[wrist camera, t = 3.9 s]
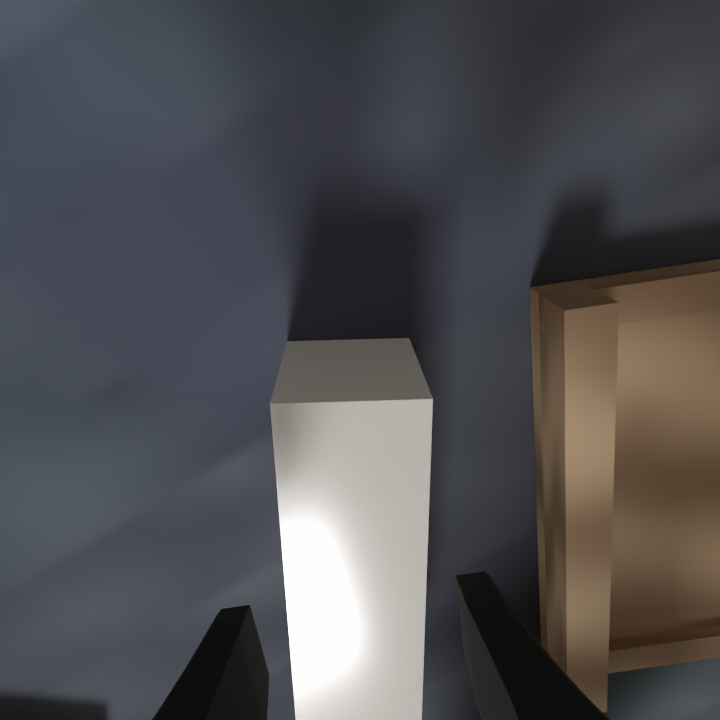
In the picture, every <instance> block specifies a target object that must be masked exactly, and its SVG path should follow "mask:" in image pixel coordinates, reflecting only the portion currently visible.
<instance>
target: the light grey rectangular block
mask: <svg viewBox="0 0 720 720" xmlns="http://www.w3.org/2000/svg"><path fill="white" fill-rule="evenodd" d="M270 408H271V420H272V433H273V445H274V457H275V470H276V482H277V494H278V507H279V519H280V531H281V544H282V556H283V568H284V581H285V593H286V605H287V618H288V630H289V642H290V655H291V667H292V679H293V692H294V704H295V716H296V720H422V696H423V667H424V639H425V611H426V582H427V554H428V525H429V497H430V469H431V440H432V412H433V398H432V395H431V393H430V390H429V388H428V385H427V382H426V380H425V377H424V375H423V372H422V370H421V367H420V365H419V362H418V359H417V357H416V354H415V352H414V349H413V347H412V344H411V341H410V339H409V338H389V339H353V340H317V341H287V344H286V347H285V351H284V355H283V358H282V362H281V366H280V369H279V373H278V377H277V380H276V384H275V388H274V392H273V395H272V399H271V403H270Z"/></svg>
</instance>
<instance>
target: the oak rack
mask: <svg viewBox="0 0 720 720" xmlns="http://www.w3.org/2000/svg"><path fill="white" fill-rule="evenodd" d="M530 309H531V341H532V374H533V407H534V440H535V472H536V505H537V538H538V570H539V603H540V636H541V646H542V647H543V648H544V649H545V650H546V652H547V653H548V654H549V655H550V656H551V658H552V659H553V660H554V661H555V662H556V663H557V665H558V666H559V667H560V668H561V669H562V670H563V671H564V672H565V674H566V675H567V676H568V677H569V678H570V679H571V680H572V681H573V682H574V683H575V684H576V685H577V687H578V688H579V689H580V690H581V691H582V692H583V693H584V694H585V695H586V696H587V697H588V698H589V699H590V700H591V701H592V702H593V703H594V704H595V705H596V706H597V707H598V708H599V709H600V710H601V711H602V712H607V692H608V673H615V672H622V671H629V670H636V669H643V668H651V667H658V666H665V665H672V664H679V663H686V662H693V661H700V660H707V659H714V658H720V259H716V260H709V261H703V262H696V263H689V264H682V265H676V266H669V267H662V268H656V269H649V270H642V271H635V272H629V273H622V274H615V275H609V276H602V277H595V278H588V279H582V280H575V281H568V282H561V283H555V284H548V285H541V286H535V287H530Z"/></svg>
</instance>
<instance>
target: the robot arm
mask: <svg viewBox="0 0 720 720" xmlns="http://www.w3.org/2000/svg"><path fill="white" fill-rule="evenodd" d="M456 582H457V592H458V602H459V612H460V622H461V632H462V642H463V650H464V654H465V659H466V663H467V668H468V672H469V676H470V681H471V685H472V689H473V694H474V698H475V702H476V705H477V708H478V711H479V714H480V717H481V720H610V719H609V718H608V717H607V716H605V714H604V713H603V712H602V711H601V710H600V709H599V708H598V707H597V706H596V705H595V704H594V703H593V702H592V701H591V700H590V699H589V698H588V697H587V696H586V695H585V694H584V693H583V692H582V691H581V690H580V689H579V688H578V687H577V685H576V684H575V683H574V682H573V681H572V680H571V679H570V678H569V677H568V676H567V675H566V674H565V672H564V671H563V670H562V669H561V668H560V667H559V666H558V665H557V663H556V662H555V661H554V660H553V659H552V658H551V656H550V655H549V654H548V653H547V652H546V650H545V649H544V648H543V647H542V646H541V644H540V643H539V642H538V641H537V640H536V638H535V637H534V636H533V635H532V634H531V632H530V631H529V630H528V629H527V627H526V626H525V625H524V624H523V622H522V621H521V620H520V618H519V617H518V616H517V614H516V613H515V612H514V610H513V609H512V608H511V606H510V605H509V603H508V602H507V601H506V599H505V598H504V596H503V595H502V593H501V592H500V590H499V589H498V587H497V586H496V584H495V583H494V581H493V580H492V578H491V576H490V575H489V574H487V573H486V572H478V573H471V574H464V575H457V576H456ZM268 688H269V673H268V669H267V665H266V662H265V658H264V655H263V651H262V647H261V644H260V640H259V637H258V633H257V629H256V626H255V622H254V618H253V615H252V611H251V608H250V605H247V606H240V607H233V608H226V609H221V610H220V612H219V613H218V614H217V616H216V618H215V619H214V621H213V623H212V624H211V626H210V628H209V630H208V631H207V633H206V635H205V636H204V638H203V640H202V642H201V643H200V645H199V647H198V648H197V650H196V652H195V653H194V655H193V657H192V658H191V660H190V662H189V663H188V665H187V667H186V668H185V670H184V671H183V673H182V675H181V676H180V678H179V679H178V681H177V682H176V684H175V686H174V687H173V689H172V690H171V692H170V693H169V695H168V697H167V698H166V700H165V701H164V703H163V704H162V706H161V707H160V709H159V710H158V712H157V713H156V715H155V716H154V718H153V719H152V720H267V708H268Z"/></svg>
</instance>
